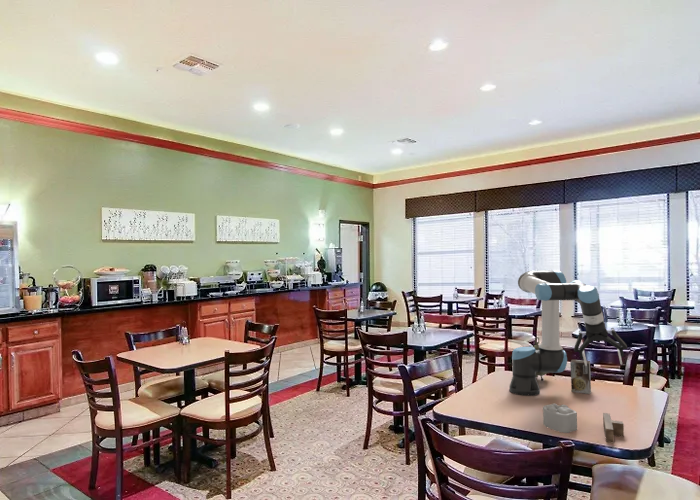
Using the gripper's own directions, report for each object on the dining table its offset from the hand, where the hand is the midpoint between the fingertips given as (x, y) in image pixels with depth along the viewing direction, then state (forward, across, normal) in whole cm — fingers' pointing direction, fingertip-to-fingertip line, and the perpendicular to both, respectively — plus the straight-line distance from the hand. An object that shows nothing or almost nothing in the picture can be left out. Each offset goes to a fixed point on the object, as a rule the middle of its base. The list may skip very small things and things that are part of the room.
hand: (603, 363), depth 196 cm
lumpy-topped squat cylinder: (+14, -20, -25) cm, 35 cm away
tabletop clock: (+40, -38, +45) cm, 71 cm away
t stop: (+17, 0, -24) cm, 30 cm away
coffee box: (+38, -15, +31) cm, 51 cm away
